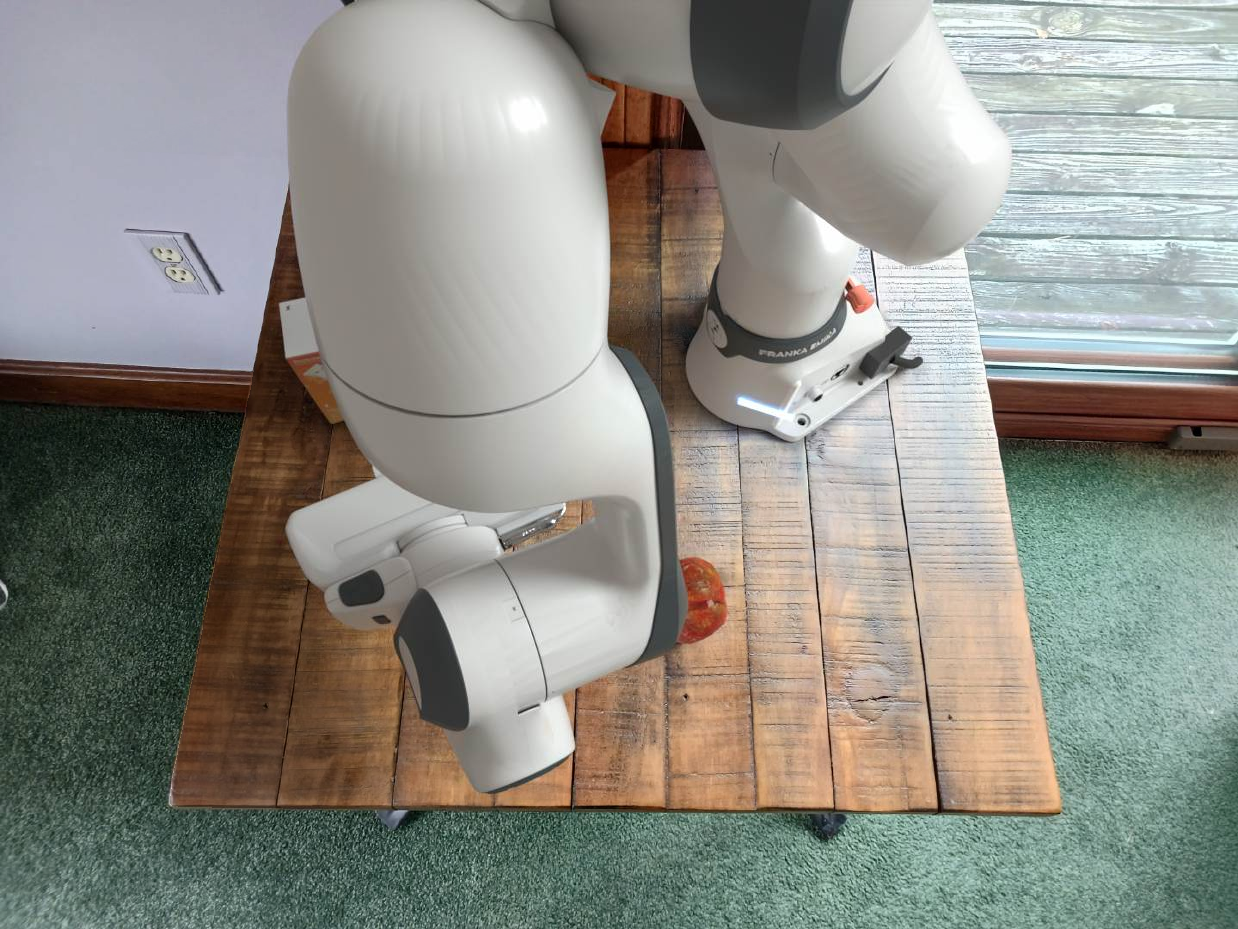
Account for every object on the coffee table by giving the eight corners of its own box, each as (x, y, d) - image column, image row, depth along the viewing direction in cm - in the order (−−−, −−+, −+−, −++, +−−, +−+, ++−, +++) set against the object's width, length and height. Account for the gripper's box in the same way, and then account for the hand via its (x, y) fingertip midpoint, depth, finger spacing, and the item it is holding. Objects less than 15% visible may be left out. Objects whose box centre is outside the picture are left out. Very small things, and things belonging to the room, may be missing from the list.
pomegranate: (676, 566, 79) (608, 595, 72) (725, 530, 74) (659, 558, 67) (715, 633, 77) (651, 670, 70) (768, 600, 73) (705, 637, 65)
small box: (330, 426, 82) (282, 359, 71) (324, 373, 85) (276, 300, 73) (409, 408, 83) (375, 339, 71) (400, 357, 86) (365, 282, 74)
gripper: (573, 505, 60) (504, 359, 65) (306, 620, 57) (255, 457, 62) (577, 532, 66) (514, 396, 71) (336, 638, 62) (287, 488, 67)
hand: (392, 425), depth 66 cm, fingers closed
